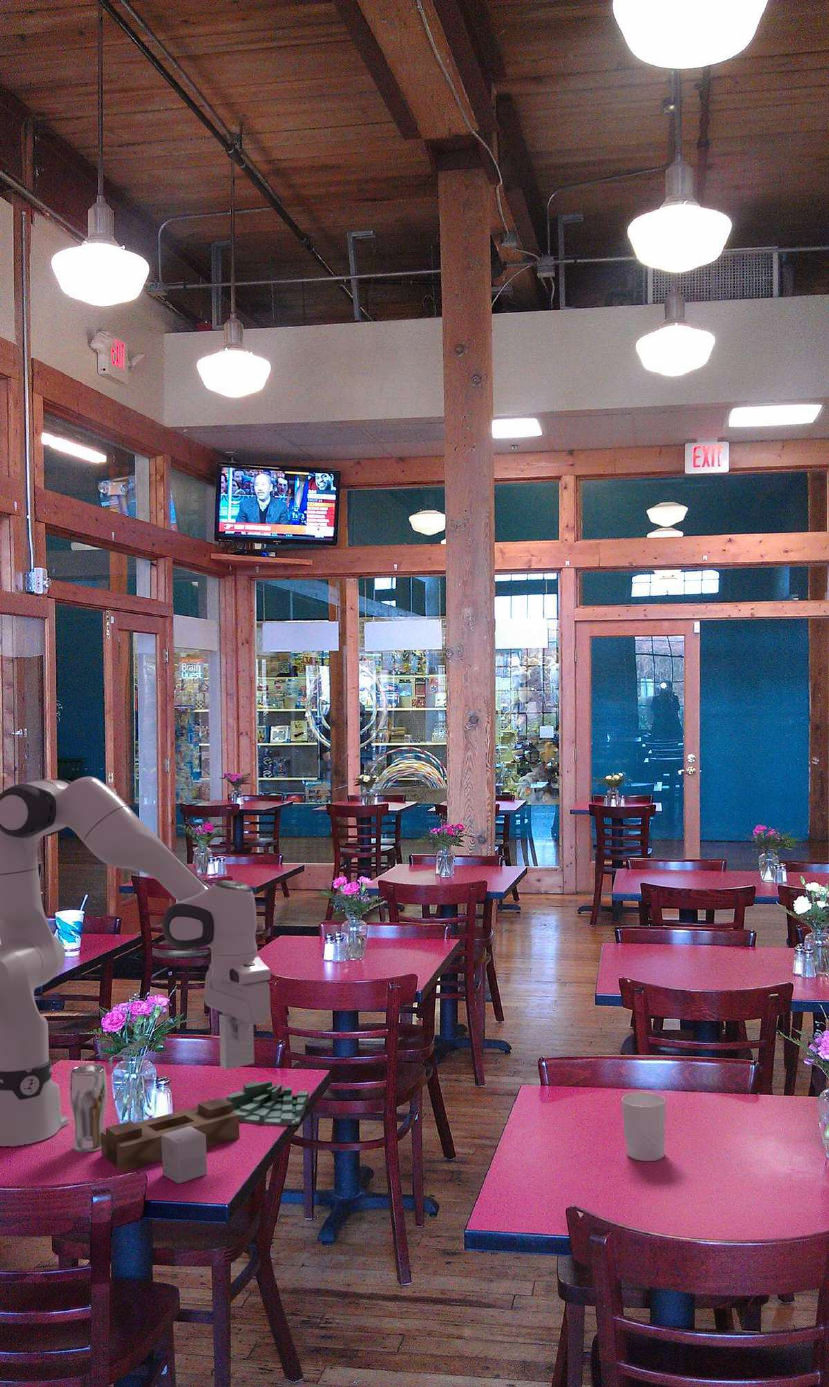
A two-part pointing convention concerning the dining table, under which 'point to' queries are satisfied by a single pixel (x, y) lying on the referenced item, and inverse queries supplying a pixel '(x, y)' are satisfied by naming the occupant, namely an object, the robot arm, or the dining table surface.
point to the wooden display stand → (144, 1139)
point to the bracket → (234, 1044)
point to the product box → (184, 1154)
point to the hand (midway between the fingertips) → (236, 1038)
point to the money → (269, 1104)
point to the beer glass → (88, 1105)
